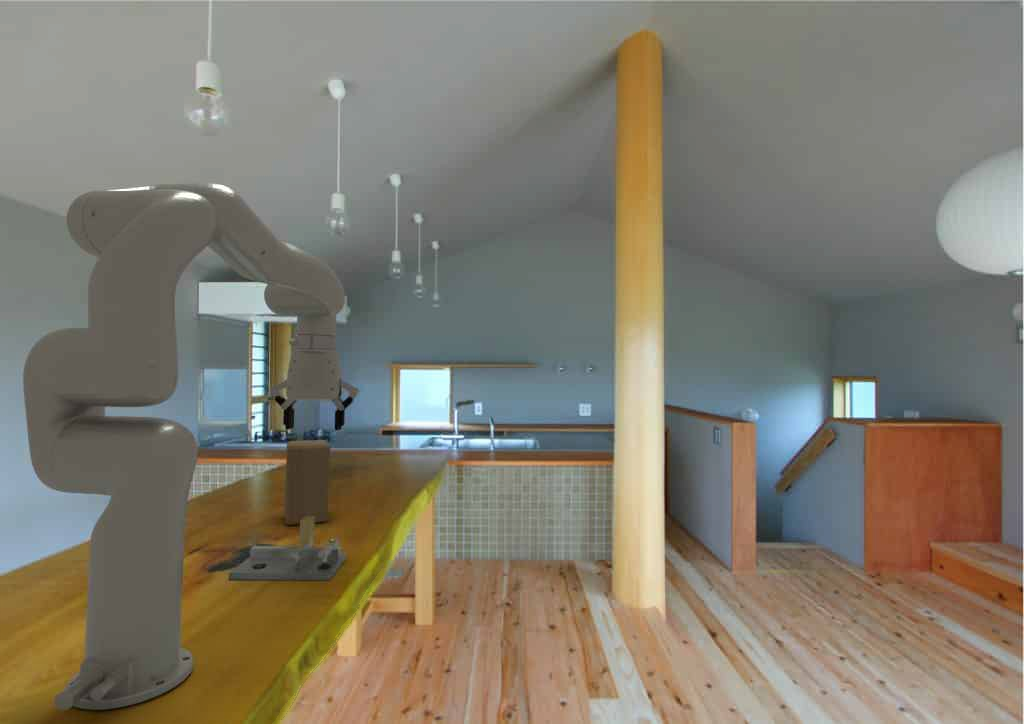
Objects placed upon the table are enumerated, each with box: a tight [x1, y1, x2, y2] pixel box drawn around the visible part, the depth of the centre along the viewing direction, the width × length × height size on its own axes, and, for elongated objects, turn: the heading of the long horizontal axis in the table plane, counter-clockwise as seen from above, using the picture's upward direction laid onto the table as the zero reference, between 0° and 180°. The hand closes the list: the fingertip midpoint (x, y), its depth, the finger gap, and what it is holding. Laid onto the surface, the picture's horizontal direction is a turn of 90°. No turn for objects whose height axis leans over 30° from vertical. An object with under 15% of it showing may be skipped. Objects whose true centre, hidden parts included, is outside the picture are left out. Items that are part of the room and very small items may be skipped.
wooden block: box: [283, 439, 331, 526], centre depth 141 cm, size 10×10×20 cm
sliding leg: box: [291, 516, 315, 566], centre depth 105 cm, size 8×2×8 cm, turn 3°
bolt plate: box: [228, 537, 347, 581], centre depth 105 cm, size 12×18×5 cm, turn 93°
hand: (313, 429), depth 110 cm, fingers open, 9 cm apart
